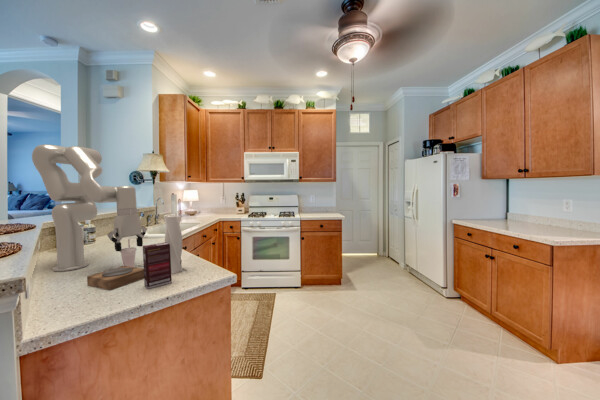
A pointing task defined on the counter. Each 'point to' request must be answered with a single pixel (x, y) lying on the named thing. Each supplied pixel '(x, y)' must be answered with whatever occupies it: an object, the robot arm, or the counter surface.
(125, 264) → the smoothie
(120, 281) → the plinth
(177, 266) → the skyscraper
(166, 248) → the supplement box
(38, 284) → the counter surface
